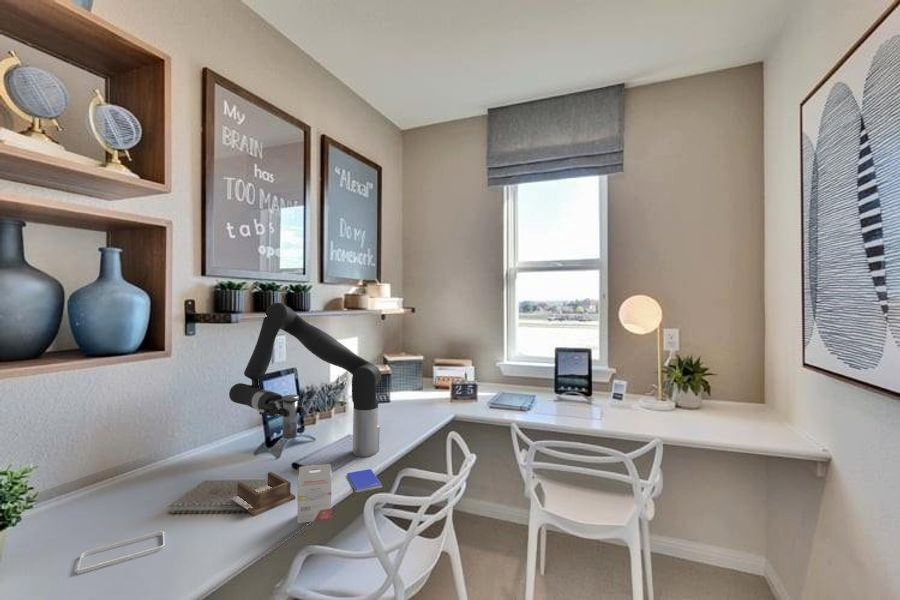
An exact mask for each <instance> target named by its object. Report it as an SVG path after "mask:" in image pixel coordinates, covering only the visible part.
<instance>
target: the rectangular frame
mask: <svg viewBox="0 0 900 600" xmlns="http://www.w3.org/2000/svg"><path fill="white" fill-rule="evenodd" d="M159 536H162V545H159V546H156V547H153V548H149V549H147V550H142V551H139V552H135V553H132V554H129V555H125V556H122V557H118V558H114V559H111V560H108V561H103V562H101V563H96V564H94V565H90V566H87V567H82V568H80V567H81V564H82V563H81V562H82V561H83V560H82V558H83V559H84V557H86V556H87V557H88V556H89V555H93V554H97V553H101V552H104V551H108V550H111V549H115V548H119V547H122V546H127V545H130V544H134V543H137V542H140V541H144V540H148V539H151V538H152V539H153V538H155V537H159ZM165 539H166V538H165V531H164V530H161V531H158V532H154V533H149V534H145V535H142V536H138V537H133V538H130V539H127V540H123V541H119V542H116V543H113V544H109V545H104V546H100V547H97V548H93V549H90V550H87V551H84V552H82V553H80V557H79V561H78V564H77V569H76V574H77V575H80V574H79V573H81V574H83V572H85V573H87V572H86V571H88V572H90V571H89V570H92V571H95V570H98V569H97V568H99V569H101V568H100V567H102V568H104V567H103V566H106V567H108V566H107V565H109V566H112V565H116V564H118V563H121V562H126V561H129V559H130V560H132V558H134V557H137V556H140V555H143V554H147V553H151V552H155V553H157V552H160V551H162V549H163V550H164V549H166V547H165V546H166V541H165ZM115 563H116V564H115ZM111 564H112V565H111ZM94 569H95V570H94Z"/></svg>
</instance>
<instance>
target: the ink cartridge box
mask: <svg viewBox="0 0 900 600" xmlns="http://www.w3.org/2000/svg"><path fill="white" fill-rule="evenodd" d="M331 466H332V465H331V463H327V464H314V465H306V466H304V465H303V466H299V468H298V476H297V521H296V522H297V524H304V523H311V522H319V521H326V520H331V519H332V479H333V478H332V467H331Z"/></svg>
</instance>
